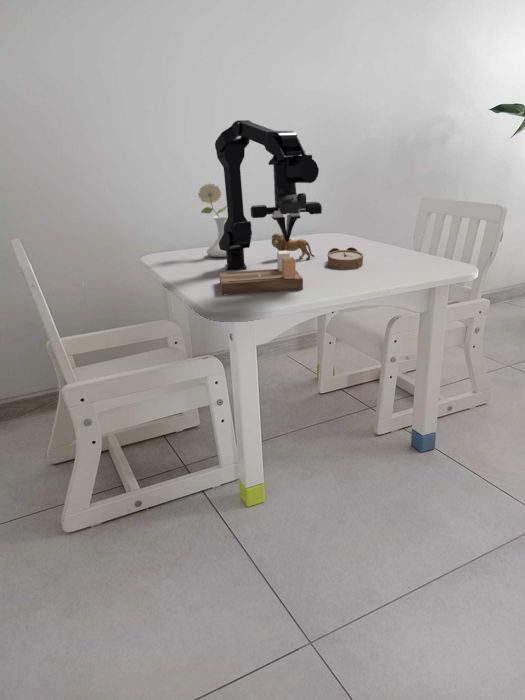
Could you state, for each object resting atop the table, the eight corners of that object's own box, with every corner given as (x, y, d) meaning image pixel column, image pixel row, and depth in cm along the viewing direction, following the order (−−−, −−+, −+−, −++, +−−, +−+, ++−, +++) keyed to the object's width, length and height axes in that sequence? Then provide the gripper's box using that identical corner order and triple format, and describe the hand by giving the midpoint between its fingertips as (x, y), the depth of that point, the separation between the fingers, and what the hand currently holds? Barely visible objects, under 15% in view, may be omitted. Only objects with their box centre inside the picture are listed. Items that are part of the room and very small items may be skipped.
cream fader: (277, 268, 148) (276, 251, 146) (287, 267, 148) (287, 250, 146) (279, 271, 144) (279, 253, 143) (289, 270, 145) (289, 253, 143)
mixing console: (220, 282, 148) (219, 272, 146) (294, 277, 150) (294, 267, 149) (222, 294, 136) (221, 283, 134) (302, 289, 138) (302, 278, 137)
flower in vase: (241, 252, 186) (237, 181, 177) (235, 259, 176) (230, 184, 167) (206, 252, 188) (201, 182, 179) (198, 259, 178) (192, 185, 168)
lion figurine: (272, 261, 171) (271, 234, 167) (271, 258, 176) (270, 232, 172) (315, 259, 171) (316, 232, 168) (313, 256, 176) (313, 230, 173)
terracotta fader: (282, 275, 140) (281, 257, 138) (292, 274, 140) (292, 256, 138) (284, 279, 136) (284, 260, 134) (295, 278, 136) (295, 260, 135)
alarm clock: (330, 261, 156) (324, 243, 169) (329, 275, 159) (324, 257, 172) (366, 259, 156) (358, 242, 169) (365, 274, 159) (357, 256, 171)
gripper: (252, 186, 126) (256, 249, 132) (326, 182, 128) (326, 244, 133) (248, 184, 136) (252, 242, 142) (316, 180, 138) (317, 237, 144)
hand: (286, 241), depth 140 cm, fingers closed
